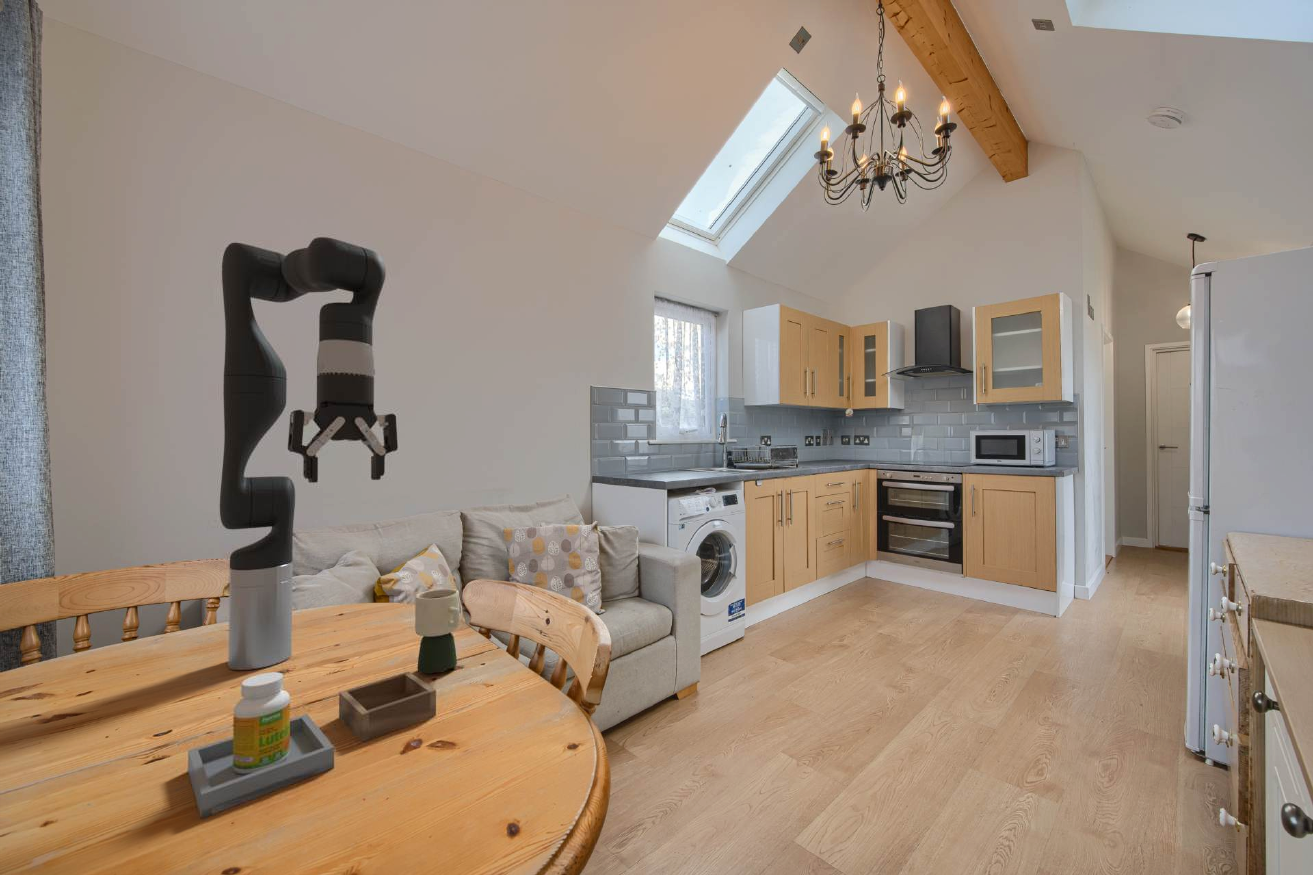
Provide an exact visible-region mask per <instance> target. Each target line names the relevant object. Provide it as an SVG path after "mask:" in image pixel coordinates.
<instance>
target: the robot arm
mask: <svg viewBox="0 0 1313 875" xmlns="http://www.w3.org/2000/svg"><path fill="white" fill-rule="evenodd" d="M386 271H387V270H386V266H385V263H384V261H383V259H382V257H381V256H380V254H378V253H377V252H376V251H374V250H372V249H369V248H366V247H362V246H358V245H355V244H353V243H349V242H346V241H342V240H341V239H340V240H339V239H335V238H332V237H328V236H327V237H326V236H325V237H324V236H320V237H315V238H314V239H312V240H311V242H310V243H309V245H308V246H307V247H303V248H297V249H295V250H292V251H291V252H289V253H287V255H286V254H283V253H280V252H277V251H272V250H268V249H265V248H261V247H258V246H254V245H250V244H246V243H242V242H231V243H230V244H228V245H227V246H226V248H225V250H224V252H223V256H222V261H221V282H222V283H221V284H222V296H223V309H224V311H223V312H224V327H225V340H224V362H223V363H224V366H223V390H222V391H223V392H222V393H223V420H224V421H223V422H224V423H223V424H224V426H223V428H224V435H223V436H224V438H223V439H224V441H223V442H224V443H223V458H222V468H221V470H222V471H221V482H220V492H219V493H220V494H219V517H220V522H221V524H222V526H223V527H224V528H225V529H227V530H232V531H233V530H245V529H259V528H271V530H270V531H269V533H268V534H267V535H265V536H264V537H262V538H261V539H259V540H258V541H256V542H254V543H251V544H248V545H245V546H243V547H240V548H237V549H236V550H234V551H233V552H231V553H230V557H229V593H228V594H229V599H228V601H229V602H228V604H229V605H228V606H229V607H228V610H229V612H228V616H229V617H228V653H227V654H228V655H227V656H228V658H227V659H228V660H227V661H228V662H227V667H228V668H229V669H231V670H235V671H236V670H237V671H246V670H247V671H248V670H255V669H260V668H261V669H262V668H265V667H269V666H270V667H271V666H273V665H277V664H279V663H281V662H284V661H286V660H288V659H289V658H290V657H291V656H292V642H293V641H292V639H293V638H292V636H293V635H292V634H293V546H294V544H293V542H294V536H293V535H294V519H295V508H296V489H295V484H294V482H293V480H292V479H291V478H290V477H288V476H281V475H280V476H278V475H277V476H249V477H248V476H247V477H246V476H245V471H246V467H247V464H248V462H249V459H250V457H251V456H252V454H253V452H254V451H255V449H256V448H257V447H258V444H259V442H261V441H262V439H263V438H264V436H265V435H266V434H267V433H268V432H269V431H270V429H271V428H272V427H273V426H274V425H275V423H276V422H277V421H278V420H279V418H280V417H281V415H282V414H283V413H284V410H285V408H286V406H287V388H288V387H287V383H288V382H287V376H288V375H287V370H286V367H285V365H284V363H283V361H282V359H281V358H280V356H279V355H278V353H277V352H276V350H275V349H274V347H273V346H272V345H271V344H270V342H269V340H268V339H267V337H266V336H265V334H264V332H262V330H261V328H260V326H259V325H258V322H257V320H256V317H255V313H254V309H253V305H252V299H257V300H261V301H265V302H266V301H267V302H273V303H288V302H291V301H293V300H296V299H298V298H301V297H302V296H304V295H307V294H309V293H328V292H332V291H337V290H341V291H342V290H343V291H347V292H350V293H352V299H351V301H350V302H329V303H325V304H324V305H322V306H321V307H320V309H319V314H318V315H319V318H318V319H319V321H318V322H319V323H318V324H319V325H318V326H319V328H318V332H319V334H318V338H319V339H318V342H319V343H318V350H317V356H316V407H315V410H314V412H313V411H304V410H302V409H296V410H293V411H291V412H290V414H289V424H288V425H289V427H288V428H289V429H288V440H287V450H288V451H289V452H290V453H291V452H292V453H295V454H299V455H301V456H302V457H303V458H302V459H303V461H302V462H303V464H302V465H303V467H302V468H303V469H302V470H303V474H302V475H303V478H304V479H306V480H307V481H308V483H309V484H310V483H311V484H312V483H318V482H319V480H318V479H319V478H318V476H319V469H318V468H319V457H318V456H316V455H317V453H318V452H319V451H320V450H321V448H323V446H324V445H326V444H327V443H328V442H329V441H330V440H331V441H333V442H334V441H335V442H336V441H337V442H338V441H345V440H346V441H349V442H356V441H361V443H362V444H363V445H364V446H366V448H367V449H368V450H369V451H370V452H371V453H372V456H371V455H370V456H371V458H370V479H371V480H373V481H379V480H381V478H382V477H383V476H384V474H385V465H386V463H385V461H386V460H385V458H386V455H387V454H390V453H392V452H396V451H397V450H398V447H399V446H398V430H397V428H398V426H397V416H396V415H395V414H394V413H389V414H376V412H375V410H374V407H375V406H374V405H375V375H376V369H375V358H374V353H373V352H374V351H373V322H374V321H373V320H374V316H375V312H376V308H377V305H378V301H379V298H380V295H381V292H382V290H383V288H384V287H383V286H384V285H385V281H386V275H387V274H386V273H387V272H386ZM251 298H252V299H251ZM311 420H312V421H314V423H315V424H316V426H317V427H318V429H319V431H317V433H315V435H314V436H313V437H312V438H311V440H310V442H309V443H307V445H304V444H303V437H304V426H305V427H306V426H308V425H309V424H310V421H311ZM376 423H378V426H379V427H380V428H381V429H382V433H383V444H382V443H381V442H380V441H379V438H378V437H377V436H376V435H375V433H374V432H373V430H371V429H372V428H373V427H374V426H375V424H376Z"/></svg>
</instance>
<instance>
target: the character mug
mask: <svg viewBox="0 0 1313 875" xmlns="http://www.w3.org/2000/svg"><path fill="white" fill-rule="evenodd" d="M414 600H415V603H414V605H415V606H414V608H415V610H414V614H415V615H414V616H415V618H414V620H415V621H414V628H415V629H414V631H415V634H416V635H417V636H419V637H420V636H421V637H422V638H421V640H420V645H419V650H418V657H417V658H418V659H417V667H416V668H417V670H418V672H419V673H422V674H433V673H438V672H441V671H446V670H449V669H452V668H455V667H456V666H457V664H458V660H457V651H456V650H457V649H456V645H455V637H454V635H453V633H452V632H454V631H456V630H457V629H458V628H459V626H460V625H461V624H460V621H461V620H460V617H461V616H460V606H461V604H460V592H459V590H458V589H453V588H440V589H439V588H438V589H431V590H426V591H422V592H418V593H417V594H416V595H415V599H414Z"/></svg>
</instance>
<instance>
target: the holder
mask: <svg viewBox="0 0 1313 875" xmlns="http://www.w3.org/2000/svg"><path fill="white" fill-rule="evenodd" d="M338 695H339V696H338V718H339V719H340V720H341V722H343V724H345V726H346V727H348V729H349V730H350V731H351V732H352V734H354V736H356V737H357V739H358V740H359V741H360V742H361V743H364V742H366V741H369V740H373V739H375V738H379V737H380V736H383V735H386V734H389V733H391V732H394V731H396V730H401V729H403V728H405V727H408V726H411V725H414V724H416V723H419V722H421V721H425V720H427V719H430V718H432V717H433V718H434V717H435V716H437V689H435V688H434V687H432V686H430V685H429V684H428V683H426V682H424V681H423V680H422V679H420V678H419V677H417V676H416V675H414V674H413V673H412V672H410V671H406V672H403V673H400V674H396V675H394V676H393V675H392V676H390V677H386V678H383V679H380V680H376V681H373V682H368V683H366V684H362V685H360V686H356V687H353V688H350V689H346V690H342V691H339V692H338Z"/></svg>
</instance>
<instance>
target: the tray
mask: <svg viewBox="0 0 1313 875" xmlns="http://www.w3.org/2000/svg"><path fill="white" fill-rule="evenodd" d="M325 735H326V734H324V733H323V732H322V730H321V729H320V728H319V727H318V726H317V724H316V723H315V722H314V720H313V719H312V718H311V717H310V716H309V714H308V713H305V714H302V715H299V716H295V717H292V718H290V749H289V755H288V756H287V758H286V759H285V760H284V761H283V762H281V763H279V764H276V765H274V766H271V767H268V768H265V769H262V770H259V771H257V772H254V773H251V774H240V773H237V772H235V771H234V769H233V736H231V737H227V738H225V739H222V740H217V741H214V742H211V743H207V744H205V745H202V746H198V747H195V748H191V749H189V750H187V751H188V752H187V753H188V754H187V755H188V756H187V757H188V758H187V773H188V777H189V779H190V780H189V781H190V783H191V787H192V791H193V794H194V798H195V801H196V805H197V808H198V811H199V815H200V819H204V818H207V817H209V816H211V815H214V814H217V813H220V812H223V811H225V810H228V809H230V808H232V807H235V806H239V805H240V804H241V805H242V804H243V803H245V802H248V801H252V800H253V799H257V798H259V797H262V796H264V795H267V794H270V793H272V792H274V791H277V790H280V789H282V788H283V789H284V788H285V787H288V786H290V785H293V784H295V783H299V782H300V781H301V782H302V781H304V780H306V779H309V778H311V777H313V776H316V775H319V774H321V773H322V774H323V773H325V772H327V771H330V770H331V769H332V770H333V769H334V768H335V746H334V745H333V744H332V743H331V741H330V739H328V738H327V736H325Z"/></svg>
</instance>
